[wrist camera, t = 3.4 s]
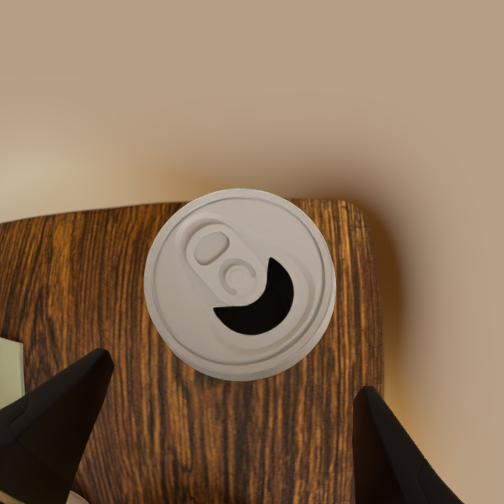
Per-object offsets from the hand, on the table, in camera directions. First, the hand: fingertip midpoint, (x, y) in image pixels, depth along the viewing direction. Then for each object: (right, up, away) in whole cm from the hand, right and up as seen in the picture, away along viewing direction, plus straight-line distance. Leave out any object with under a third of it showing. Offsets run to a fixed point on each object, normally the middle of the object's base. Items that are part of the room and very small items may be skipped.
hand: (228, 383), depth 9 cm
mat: (-24, -9, +9) cm, 27 cm away
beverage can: (+1, 0, +11) cm, 11 cm away
